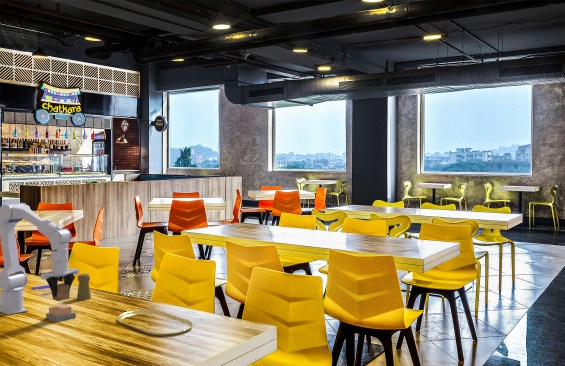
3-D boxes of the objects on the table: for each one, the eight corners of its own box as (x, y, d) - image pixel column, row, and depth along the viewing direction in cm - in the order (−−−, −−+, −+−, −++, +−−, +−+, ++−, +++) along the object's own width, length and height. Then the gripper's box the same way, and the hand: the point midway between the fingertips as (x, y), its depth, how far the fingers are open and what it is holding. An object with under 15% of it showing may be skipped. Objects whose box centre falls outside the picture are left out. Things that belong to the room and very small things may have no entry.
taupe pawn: (86, 300, 237) (86, 275, 237) (73, 299, 238) (73, 275, 238) (93, 297, 243) (93, 273, 243) (81, 296, 244) (81, 272, 244)
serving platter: (149, 311, 223) (149, 307, 223) (203, 329, 200) (203, 325, 200) (107, 320, 209) (107, 316, 209) (160, 341, 186) (160, 336, 186)
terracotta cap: (49, 313, 210) (48, 307, 210) (63, 310, 214) (63, 304, 214) (56, 316, 206) (56, 309, 206) (71, 313, 211) (71, 306, 210)
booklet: (47, 299, 240) (47, 297, 240) (31, 288, 259) (31, 287, 259) (75, 295, 248) (75, 293, 248) (57, 285, 267) (57, 283, 267)
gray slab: (45, 319, 210) (45, 313, 210) (65, 315, 216) (65, 309, 216) (56, 323, 205) (56, 317, 205) (75, 319, 211) (75, 312, 211)
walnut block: (52, 299, 210) (52, 285, 210) (63, 296, 213) (63, 283, 213) (58, 301, 207) (58, 286, 207) (69, 298, 210) (69, 284, 210)
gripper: (47, 264, 201) (47, 300, 202) (83, 259, 213) (83, 293, 213) (38, 261, 206) (38, 297, 206) (73, 257, 217) (73, 290, 218)
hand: (60, 294), depth 210 cm, fingers closed on walnut block, 4 cm apart
